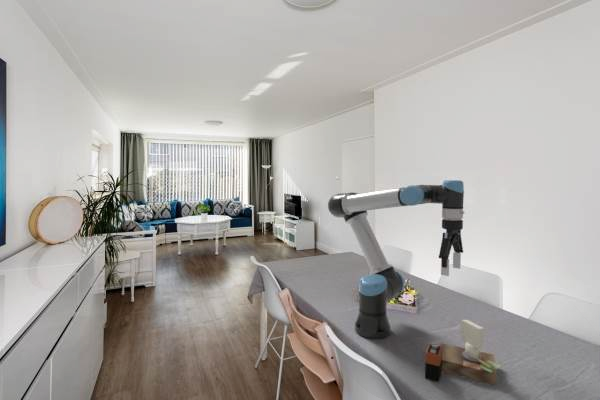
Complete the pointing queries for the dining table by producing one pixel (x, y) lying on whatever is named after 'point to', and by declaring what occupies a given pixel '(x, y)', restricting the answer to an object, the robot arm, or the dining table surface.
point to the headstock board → (468, 364)
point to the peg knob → (473, 342)
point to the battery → (433, 362)
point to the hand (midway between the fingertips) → (450, 271)
